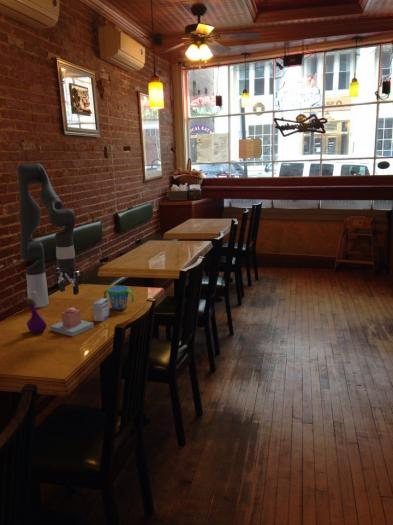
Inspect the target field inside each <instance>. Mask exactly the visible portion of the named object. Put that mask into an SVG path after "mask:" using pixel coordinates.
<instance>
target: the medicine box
mask: <svg viewBox="0 0 393 525" xmlns="http://www.w3.org/2000/svg"><path fill="white" fill-rule="evenodd" d="M109 302H110V299H109V298H107V299H106V298H104V297H103V298H102V297H101V298H99V299H98V300H95V302H94V303H92V310H93V317H94V321H95V322H105V320H107V319H108V318H109V317H110V314H111V313H110V305H109V304H110V303H109Z"/></svg>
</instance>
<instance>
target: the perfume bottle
mask: <svg viewBox="0 0 393 525" xmlns="http://www.w3.org/2000/svg"><path fill="white" fill-rule="evenodd" d="M33 293H37V292H36V291H33V292H32V293H31V294H30V296H31V295H32V294H33ZM37 294H38V293H37ZM38 296H39V294H38ZM25 301H26V302H25V307H28V308H29V309H30V312H31V316H30V318H29V319H28V321H27V322H26V327H27V328H28V330H29V331H30V333H31V334H33V335H36V334H41V333H44V331H46V328H47V326H48V324H47V322H46V320H45V319H44V318H43V317H42V316H41V315H40V314H39V313H38V311H37V309H36V308H35V307H34V305H35V304H36V303H35V302H33V299H30V297H29V299H28V298H27V299H26V300H25Z"/></svg>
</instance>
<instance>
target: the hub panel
mask: <svg viewBox="0 0 393 525" xmlns="http://www.w3.org/2000/svg"><path fill="white" fill-rule="evenodd" d="M94 328H95V324H94V322H92V321H87V320H83V319H81V324H79V325H76V326H74V327H71V328H69V327H66V326H63V323H62V321H60V322H58V323H55V324H52V325H51V326H50V330H51V332H56V333H59V334H62V335H66V336H68V337H72V338H73V337H75V336H78V335H79V334H82V333H84V332H87V331H90V330H92V329H94Z"/></svg>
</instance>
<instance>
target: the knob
mask: <svg viewBox="0 0 393 525" xmlns="http://www.w3.org/2000/svg"><path fill="white" fill-rule="evenodd" d="M81 320H82V316H81V310H80V309H76V308H75V307H67V308H66V309H65V310H64V311H62V312H61V322H62V323H63V326H66V327H69V328H71V327H74V326H76V325H79V324H81Z"/></svg>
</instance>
